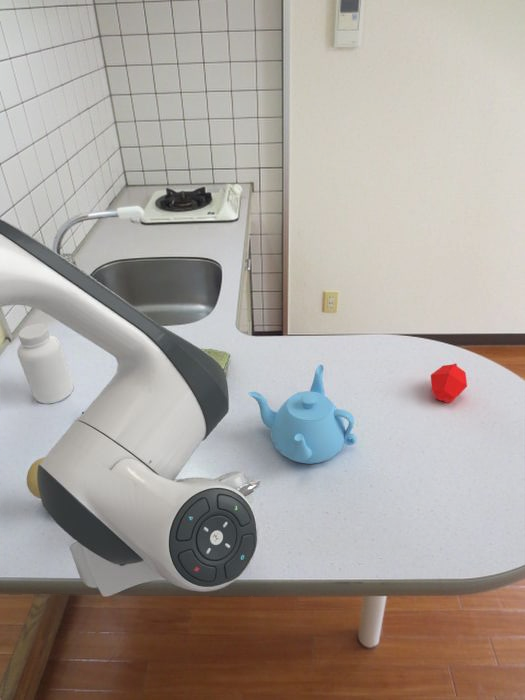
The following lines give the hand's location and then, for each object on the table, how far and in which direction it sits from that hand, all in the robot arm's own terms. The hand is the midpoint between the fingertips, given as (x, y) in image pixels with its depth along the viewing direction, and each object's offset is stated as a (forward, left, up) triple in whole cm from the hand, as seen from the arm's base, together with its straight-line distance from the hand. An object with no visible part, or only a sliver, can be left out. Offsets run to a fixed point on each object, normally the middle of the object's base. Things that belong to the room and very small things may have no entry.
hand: (155, 518), depth 65 cm
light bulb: (-12, +20, -13) cm, 27 cm away
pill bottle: (-9, +51, -13) cm, 53 cm away
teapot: (+29, +15, -13) cm, 35 cm away
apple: (+60, +13, -13) cm, 63 cm away
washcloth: (+17, +44, -13) cm, 49 cm away
